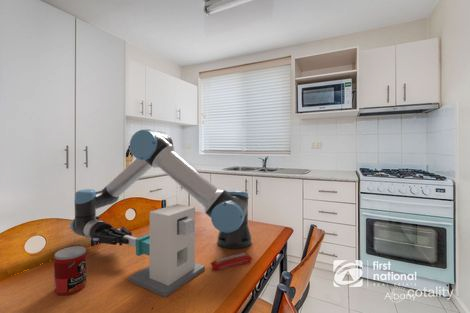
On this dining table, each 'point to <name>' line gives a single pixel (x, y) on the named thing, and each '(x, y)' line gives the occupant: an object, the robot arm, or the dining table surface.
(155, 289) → the switch block
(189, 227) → the steel plunger
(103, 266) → the dining table surface
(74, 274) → the canned food
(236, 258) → the candy bar
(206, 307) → the dining table surface
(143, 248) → the teal plunger
